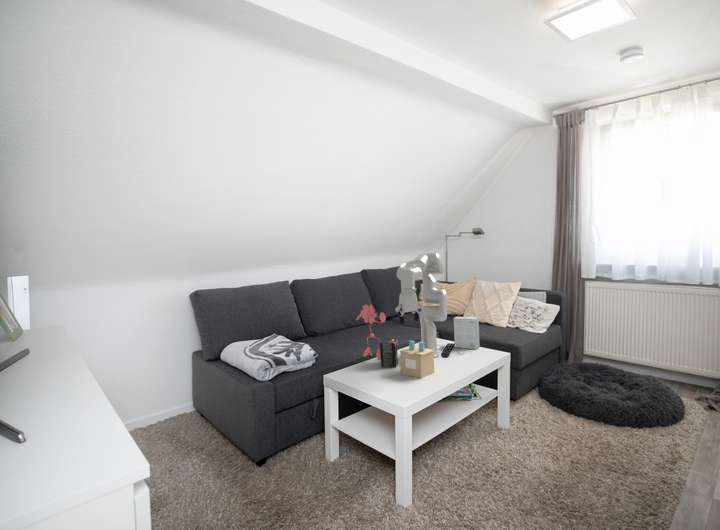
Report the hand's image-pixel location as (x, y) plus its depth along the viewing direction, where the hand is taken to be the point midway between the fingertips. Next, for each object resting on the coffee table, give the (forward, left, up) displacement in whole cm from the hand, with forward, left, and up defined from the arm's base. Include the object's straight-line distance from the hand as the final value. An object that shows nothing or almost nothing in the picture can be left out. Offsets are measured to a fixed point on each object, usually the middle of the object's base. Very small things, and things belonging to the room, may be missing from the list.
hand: (409, 322), depth 226 cm
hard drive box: (-67, -4, -29) cm, 74 cm away
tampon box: (-5, -20, -29) cm, 36 cm away
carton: (-3, +2, -29) cm, 29 cm away
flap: (-3, +7, -17) cm, 18 cm away
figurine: (-6, -37, -29) cm, 48 cm away
